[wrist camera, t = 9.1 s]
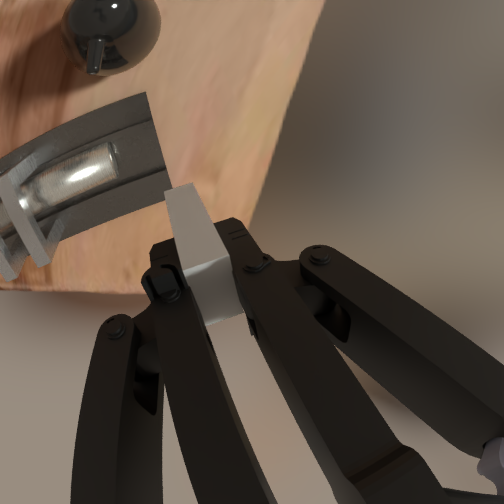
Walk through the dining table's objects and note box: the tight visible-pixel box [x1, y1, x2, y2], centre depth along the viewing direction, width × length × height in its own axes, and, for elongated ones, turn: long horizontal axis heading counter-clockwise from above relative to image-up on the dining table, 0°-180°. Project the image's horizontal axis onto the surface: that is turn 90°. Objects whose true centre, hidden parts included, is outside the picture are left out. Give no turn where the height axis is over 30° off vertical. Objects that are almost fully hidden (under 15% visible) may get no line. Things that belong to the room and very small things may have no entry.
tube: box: [0, 142, 119, 234], centre depth 27 cm, size 18×4×4 cm, turn 100°
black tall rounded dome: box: [60, 0, 161, 76], centre depth 17 cm, size 10×10×15 cm
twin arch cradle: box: [0, 92, 173, 282], centre depth 27 cm, size 14×26×9 cm, turn 100°
